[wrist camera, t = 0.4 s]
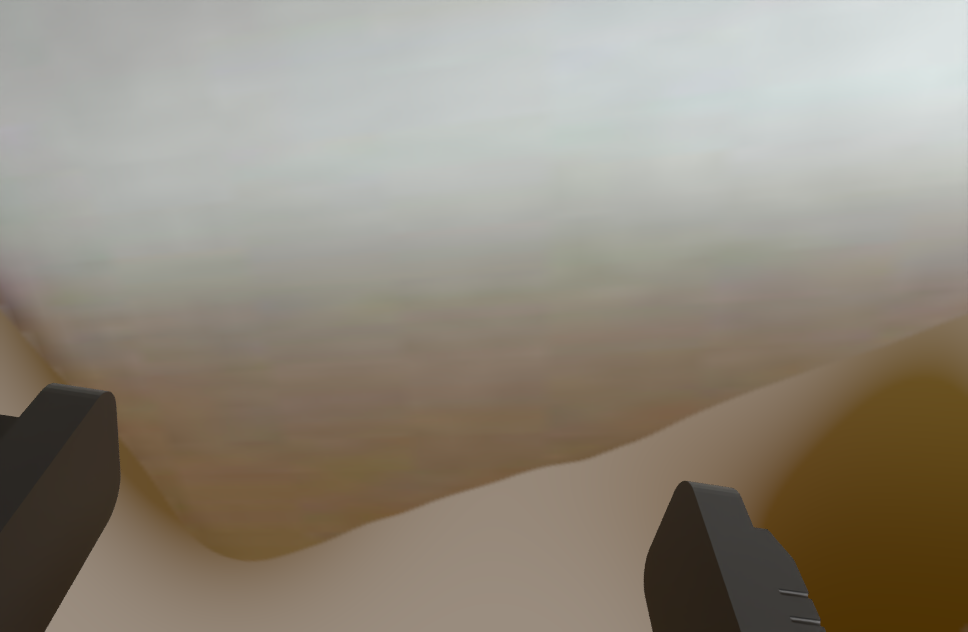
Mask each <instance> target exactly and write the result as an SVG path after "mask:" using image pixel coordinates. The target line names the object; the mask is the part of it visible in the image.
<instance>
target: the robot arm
mask: <svg viewBox="0 0 968 632" xmlns="http://www.w3.org/2000/svg"><path fill="white" fill-rule="evenodd" d="M119 460H120V459H119V443H118V427H117V411H116V401H115V397H114V395H113V394H112V393H111V392H109V391H103V390H96V389H90V388H83V387H76V386H70V385H63V384H57V383H52V384H49V385H47V386H46V387H45V388H44V389H43V390H42V391H41V392H40V393H39V394H38V395H37V397H36V398H35V399H34V400H33V401H32V402H31V404H30V405H29V406H28V407H27V408H26V410H25V411H24V412H23V413H22V414H21V416H20V417H13V416H6V415H0V632H45V630H46V628H47V626H48V625H49V623H50V621H51V620H52V618H53V616H54V614H55V613H56V611H57V609H58V608H59V605H60V604H61V602H62V601H63V599H64V597H65V595H66V594H67V592H68V590H69V589H70V587H71V585H72V583H73V582H74V580H75V578H76V576H77V575H78V573H79V571H80V570H81V568H82V566H83V564H84V562H85V561H86V559H87V557H88V556H89V554H90V552H91V551H92V548H93V547H94V545H95V544H96V542H97V540H98V538H99V537H100V535H101V533H102V531H103V530H104V528H105V526H106V525H107V523H108V521H109V519H110V517H111V515H112V512H113V510H114V507H115V503H116V500H117V497H118V492H119V485H120V461H119ZM644 592H645V598H646V603H647V607H648V612H649V617H650V621H651V626H652V630H653V632H826V631H825V629H824V627H821V626H820V617H819V615H818V613H817V611H816V608H815V606H814V604H813V602H812V600H811V599H808V591H807V588H806V586H805V584H804V582H803V579H802V577H801V575H800V572H799V570H798V568H797V566H796V564H795V561H794V559H793V558H792V557H791V556H790V555H789V554H788V552H787V551H786V550H785V549H784V548H783V547H782V546H781V544H780V543H779V542H778V541H777V540H776V539H775V537H773V535H772V534H771V533H770V532H769V531H768V530H767V529H761V528H754V527H753V525H752V523H751V520H750V518H749V515H748V513H747V510H746V508H745V505H744V503H743V501H742V498H741V496H740V494H739V493H738V491H737V490H735V489H734V488H729V487H723V486H716V485H709V484H703V483H696V482H690V481H682V482H681V483H680V484H679V485H678V486H677V488H676V489H675V491H674V494H673V496H672V498H671V501H670V503H669V505H668V507H667V510H666V512H665V514H664V517H663V519H662V521H661V524H660V526H659V528H658V531H657V533H656V535H655V538H654V540H653V542H652V545H651V547H650V549H649V552H648V555H647V558H646V563H645V569H644Z"/></svg>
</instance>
